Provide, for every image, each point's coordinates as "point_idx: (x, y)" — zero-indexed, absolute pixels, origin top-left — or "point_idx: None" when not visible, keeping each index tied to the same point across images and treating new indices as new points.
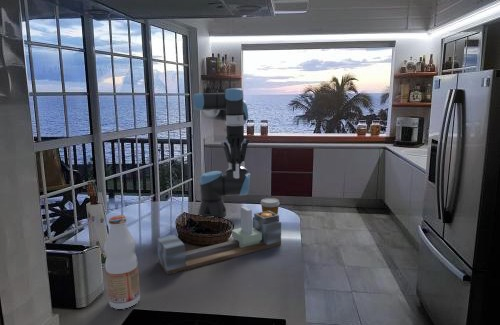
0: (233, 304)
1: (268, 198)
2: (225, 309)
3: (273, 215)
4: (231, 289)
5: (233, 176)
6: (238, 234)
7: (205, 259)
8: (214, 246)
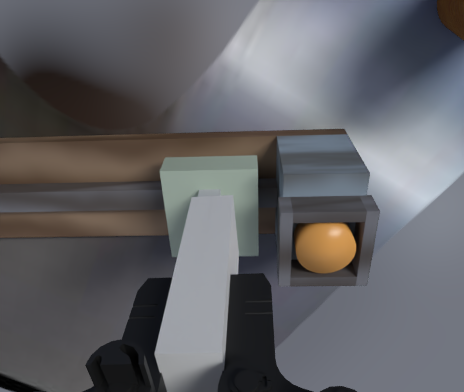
0: (74, 381)
1: None
2: (55, 385)
3: (357, 255)
4: (84, 346)
5: (190, 205)
6: (167, 225)
7: (38, 228)
8: (73, 199)
